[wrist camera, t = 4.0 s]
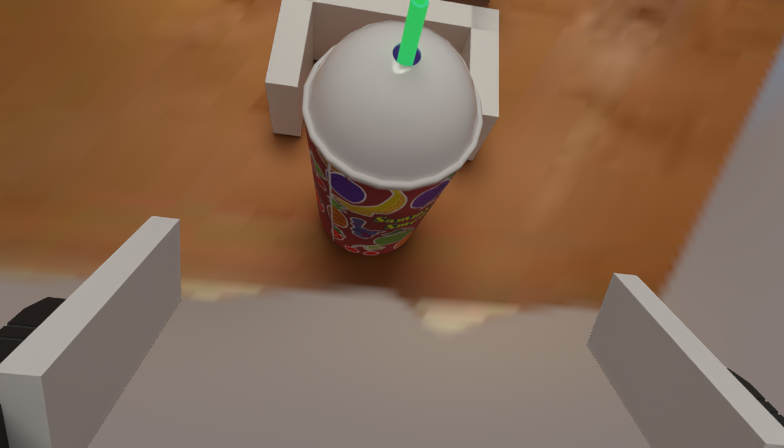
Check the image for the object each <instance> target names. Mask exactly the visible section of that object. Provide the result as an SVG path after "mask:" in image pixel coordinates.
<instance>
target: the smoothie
mask: <svg viewBox="0 0 784 448" xmlns="http://www.w3.org/2000/svg"><path fill="white" fill-rule="evenodd" d="M428 5H429V0H410V4H409V9H408V13H407V18H406V22H403V21H391V20H390V21H384V22H378V23H372V24H369V25H367V26H364V27H362V28H360V29H358V30H356V31H354V32H352V33H350V34H348V35H346V36H345V37H344V38H343V39H342V40H341V41H340V42H339V43H338V44H337V45H335V46H333V47H332V48H330V49H329V50H328V51H327V52H326V53H325V54H324V55H323V56H322V57H321V58H320V59H319V60H318V61H317V62H316V63H315V64H314V65H313V68H312V70H311V72H310V74H309V76H308V78H307V80H306V82H305V84H304V86H303V99H302V114H303V117H304V121H305V124H306V132H307V139H308V145H309V151H310V158H311V164H312V170H313V176H314V183H315V189H316V195H317V202H318V208H319V215H320V218H321V221H322V224H323V227H324V229H325V231H326V232H327V233H328V235H329V236H330V237H331V238H332V240H333V241H334V242H335V243H337V244H338V245H340V246H341V247H343V248H344V249H345V250H347V251H350V252H353V253H356V254H359V255H382V254H385V253H388V252H391V251H394V250H395V249H397V248H398V247H400V246H401V245H402V244H404V243H405V242H406V241H407V240H408V238H409V237H410V235H411V234H412V233H413V231H414V230H415V228H416V227H417V226H418V224H419V223H420V222H421V220H422V219H423V217H424V216H425V215H426V213H427V212H428V211H429V209H430V208H431V206H432V205H433V204H434V202H435V201H436V199H437V198H438V197H439V195H440V194H441V193H442V191H443V190H444V188H445V187H446V186H447V184H448V183H449V182H450V180H451V179H452V177H453V176H454V175H455V173H456V172H457V171H458V170H459V169H460V168H461V167H462V166H463V164H464V163H465V162H466V160H467V159H468V158H469V156H470V155H471V154H472V152H473V151H474V150H475V149H476V147H477V143H478V140H479V137H480V133H481V130H482V126H483V117H482V105H481V99H480V97H479V94H478V92H477V90H476V88H475V85H474V82H473V79H472V77H471V75H470V72H469V70H468V68H467V65H466V63H465V61H464V60H463V58H462V57H461V55H460V54H459V53H458V52H457V51H456V50H455V48H454V47H453V46H452V45H451V44H450V43H449V42H448V41H447V40H446V39H444V38H443V37H441V36H440V35H438V34H437V33H435V32H434V31H432V30H431V29H429V28H426V27H423V24H424V20H425V17H426V13H427V9H428Z"/></svg>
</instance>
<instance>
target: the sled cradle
mask: <svg viewBox="0 0 784 448" xmlns="http://www.w3.org/2000/svg"><path fill="white" fill-rule="evenodd" d="M409 4H410V0H282V3H281V8H280V13H279V18H278V23H277V27H276V32H275V37H274V42H273V47H272V51H271V56H270V61H269V66H268V71H267V75H266V80H265V85H266V91H267V98H268V104H269V110H270V117H271V123H272V129H273V133H279V134H286V135H293V136H300V137H301V131H302V125H303V119H304V117H303V114H302V99H303V86H304V84H305V82H306V80H307V78H308V76H309V74H310V72H311V70H312V66H313V60H319V59H320V58H321V57H322V56H323V55H324V54H325V53H326V52H327V51H328V50H329V49H330V48H332V47H333V46H335V45H337V44H338V43H339V42H340V41H341V40H342V39H343V38H344V37H345V36H346V35H348V34H350V33H352V32H354V31H356V30H358V29H360V28H362V27H364V26H367V25H369V24H372V23H378V22H384V21H390V20H391V21H403V22H406V18H407V13H408V9H409ZM423 27H426V28H429V29H431V30H432V31H434V32H435V33H437V34H438V35H440V36H441V37H443V38H444V39H446V40H447V41H448V42H449V43H450V44H451V45H452V46H453V47H454V48H455V50H456V51H457V52H458V53H459V54H460V55H461V57H462V58H463V60H464V61H465V63H466V65H467V68H468V70H469V72H470V75H471V77H472V79H473V82H474V85H475V88H476V90H477V92H478V94H479V97H480V99H481V105H482V117H483V126H482V130H481V133H480V137H479V140H478V143H477V147H476V149H475V150H474V151H473V152H472V154H471V155H470V156H469V158H468V159H467V160H473V159H474V157H475V156H476V154H477V152H478V151H479V149H480V147H481V146H482V144H483V142H484V141H485V139H486V137H487V136H488V134H489V132H490V131H491V129H492V127H493V126H494V124H495V122H496V121H497V119H498V117H499V10H495V9H489V8H483V7H477V6H471V5H466V4H460V3H454V2H448V1H442V0H429V5H428V9H427V13H426V17H425V20H424V24H423Z"/></svg>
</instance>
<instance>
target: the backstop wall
mask: <svg viewBox="0 0 784 448" xmlns="http://www.w3.org/2000/svg"><path fill="white" fill-rule="evenodd" d="M442 1H448V2H454V3H460V4H466V5H471V6H477V7H483V8H487V6H488V3H489V1H490V0H442Z"/></svg>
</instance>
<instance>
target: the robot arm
mask: <svg viewBox="0 0 784 448" xmlns="http://www.w3.org/2000/svg"><path fill="white" fill-rule="evenodd" d="M180 301H181V282H180V219H173V218H165V217H157V216H151V217H150V218H149V219H148V220H147V221H146V222H145V223H144V224H143V225H142V226H141V227H140V228H139V229H138V230H137V231H136V232H135V233H134V234H133V235H132V236H131V237H130V238H129V239H128V240H127V241H126V242H125V243H124V244H123V245H122V246H121V247H120V248H119V249H118V250H117V251H116V252H114V253H113V254H112V255H111V256H110V257H109V258H108V259H107V260H106V261H105V262H104V263H103V264H102V265H101V266H100V267H99V268H98V269H97V270H96V271H95V272H94V273H93V274H92V275H91V276H90V277H89V278H88V279H87V280H86V281H85V282H84V283H83V284H82V285H81V286H80V287H79V288H78V289H76V290H75V291H74V292H73V293H72V294H71V295H70V296H69V297H68V298H67V299H61V298H52V297H47V298H45V299H43V300H41V301H39V302H37V303H35V304H32V305H30V306H28V307H26V308H24V309H23V310H22V311H21V312H20V313H18V314H17V315H16V316H15V317H14V318H13V319H12V320H11V321H9V322H8V324H7V326H4V327H3V328H1V329H0V448H87V447H88V445H89V444H90V442H91V441H92V439H93V437H94V436H95V434H96V433H97V431H98V430H99V428H100V426H101V425H102V423H103V422H104V420H105V419H106V417H107V415H108V414H109V412H110V411H111V409H112V408H113V406H114V405H115V403H116V401H117V400H118V398H119V397H120V395H121V394H122V392H123V391H124V389H125V387H126V386H127V384H128V383H129V381H130V380H131V378H132V376H133V375H134V373H135V372H136V370H137V369H138V367H139V365H140V364H141V362H142V361H143V359H144V358H145V356H146V355H147V353H148V351H149V350H150V348H151V347H152V345H153V344H154V342H155V340H156V339H157V337H158V336H159V334H160V333H161V331H162V329H163V328H164V326H165V325H166V323H167V322H168V320H169V319H170V317H171V315H172V314H173V312H174V311H175V309H176V308H177V306H178V304H179V303H180ZM587 346H588V348H589V350H590V351H591V353H592V354H593V356H594V358H595V359H596V361H597V362H598V364H599V365H600V367H601V369H602V370H603V372H604V374H605V375H606V376H607V378H608V380H609V381H610V383H611V385H612V386H613V388H614V389H615V391H616V393H617V394H618V396H619V397H620V399H621V401H622V402H623V404H624V405H625V407H626V408H627V410H628V412H629V413H630V415H631V417H632V418H633V420H634V421H635V423H636V425H637V426H638V428H639V429H640V431H641V432H642V434H643V436H644V437H645V439H646V440H647V442H648V444H649V445H650V447H651V448H784V417H783V416H782V415H778V411H777V410H776V409H775V408H774V407H773V406H772V405H771V404H770V403H769V402H765V398H764V397H763V396H762V395H761V394H760V393H759V392H758V391H757V390H756V389H755V388H754V387H753V386H752V385H751V384H750V383H749V382H747V381H746V380H744V379H743V378H742V377H740V376H739V375H737V374H736V373H734V372H733V371H731V370H730V369H728V368H726V367H725V366H724V365H723V364H722V363H721V362H720V361H719V360H718V359H717V358H716V357H715V356H714V355H713V354H712V353H711V352H710V351H709V350H708V349H707V348H706V347H705V346H704V345H703V344H702V343H701V342H700V340H699V339H698V338H697V337H696V336H695V335H694V334H693V333H692V332H691V331H690V330H689V329H688V328H687V327H686V326H685V325H684V324H683V323H682V322H681V321H680V320H679V319H678V318H677V317H676V316H675V315H674V314H673V313H672V312H671V311H670V309H669V308H668V307H667V306H666V305H665V304H664V303H663V302H662V301H661V300H660V299H659V298H658V297H657V296H656V295H655V294H654V293H653V292H652V291H651V290H650V289H649V288H648V287H647V286H646V285H645V284H644V283H643V282H642V281H641V279H640V278H639V277H638V276H634V275H626V274H618V273H614V274H613V276H612V279H611V282H610V284H609V287H608V290H607V292H606V295H605V298H604V300H603V303H602V306H601V308H600V311H599V314H598V316H597V319H596V322H595V324H594V327H593V330H592V332H591V335H590V338H589V340H588V343H587Z"/></svg>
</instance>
